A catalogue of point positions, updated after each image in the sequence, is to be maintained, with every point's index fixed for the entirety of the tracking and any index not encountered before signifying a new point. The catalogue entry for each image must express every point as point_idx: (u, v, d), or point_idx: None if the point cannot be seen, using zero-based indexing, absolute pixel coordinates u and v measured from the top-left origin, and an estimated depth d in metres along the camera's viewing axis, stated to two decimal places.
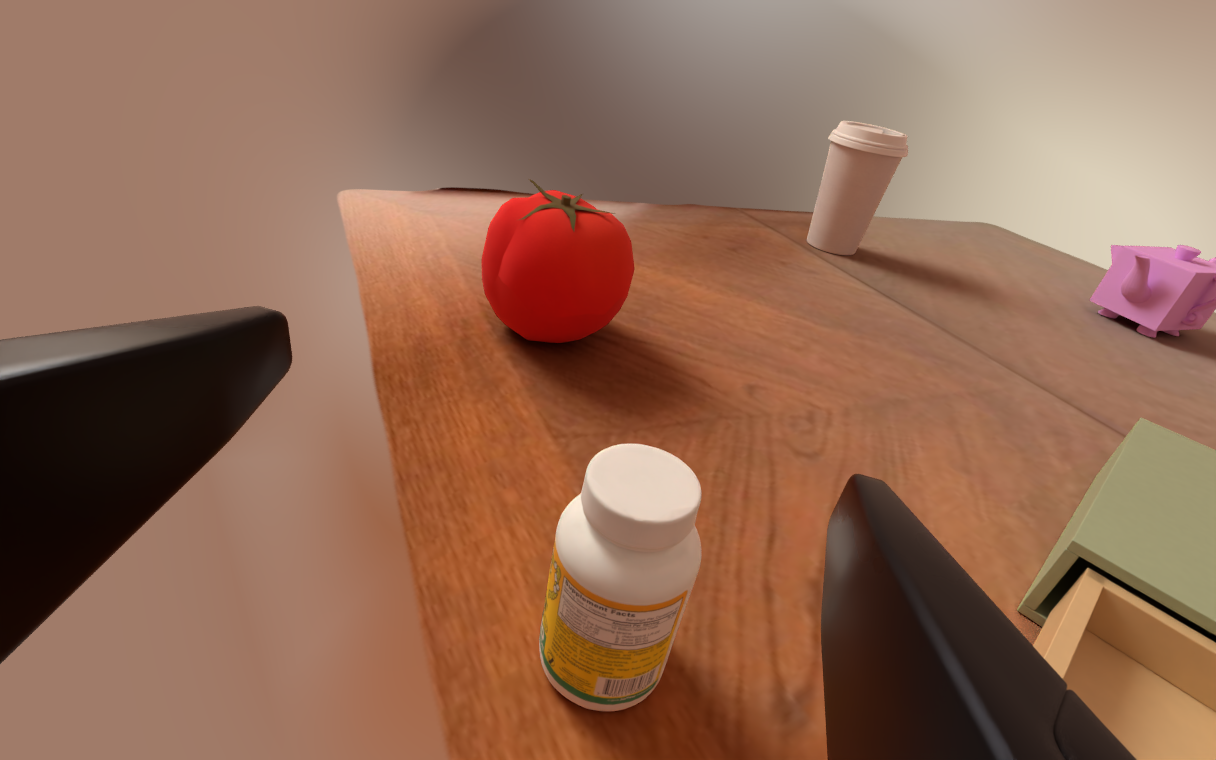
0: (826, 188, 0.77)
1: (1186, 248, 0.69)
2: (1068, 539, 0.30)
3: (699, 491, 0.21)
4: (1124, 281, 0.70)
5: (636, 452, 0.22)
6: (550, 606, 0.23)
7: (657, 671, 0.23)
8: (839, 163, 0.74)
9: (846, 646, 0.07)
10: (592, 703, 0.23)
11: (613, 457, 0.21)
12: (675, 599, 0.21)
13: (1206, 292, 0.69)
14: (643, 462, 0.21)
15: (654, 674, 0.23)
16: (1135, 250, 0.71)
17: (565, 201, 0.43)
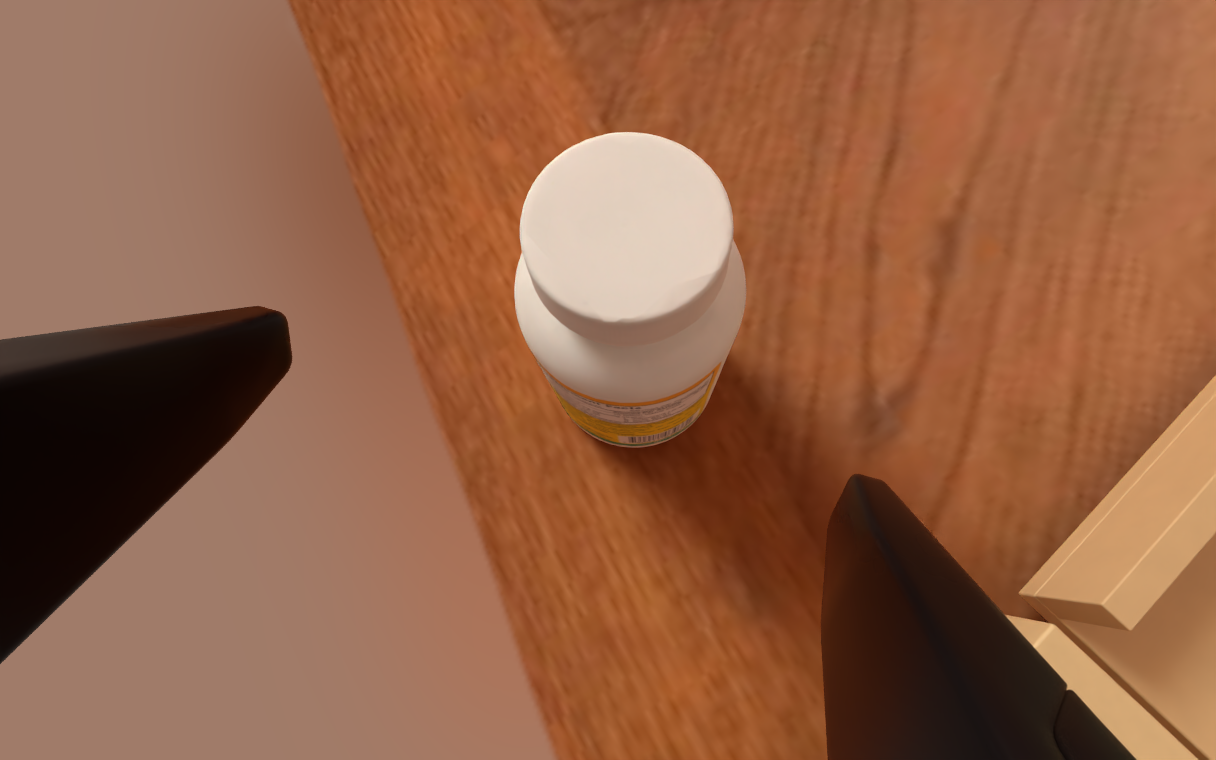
0: None
1: None
2: None
3: (729, 231, 0.11)
4: None
5: (612, 154, 0.12)
6: None
7: (697, 412, 0.18)
8: None
9: (846, 646, 0.07)
10: (621, 445, 0.19)
11: (569, 178, 0.12)
12: (700, 381, 0.14)
13: None
14: (625, 178, 0.11)
15: (694, 416, 0.18)
16: None
17: None
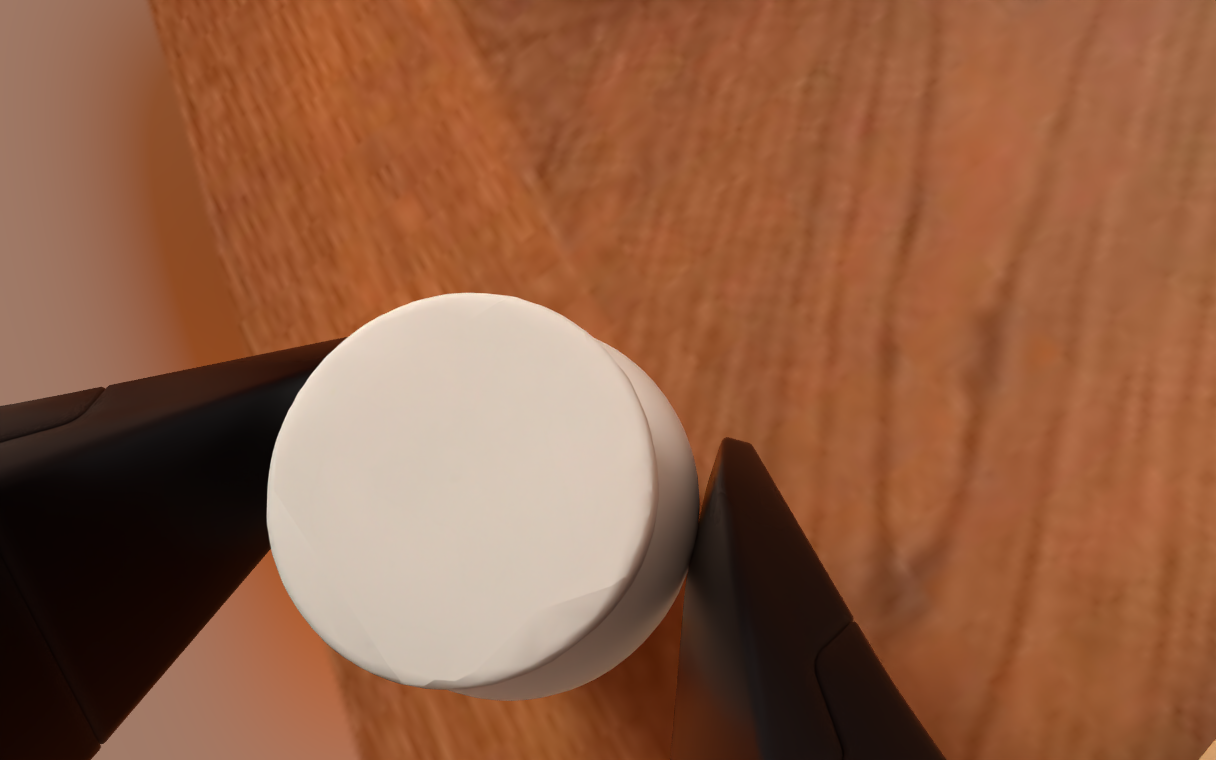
0: None
1: None
2: None
3: (645, 497, 0.06)
4: None
5: (444, 338, 0.06)
6: None
7: None
8: None
9: (694, 598, 0.07)
10: None
11: (363, 381, 0.06)
12: None
13: None
14: (464, 384, 0.06)
15: None
16: None
17: None
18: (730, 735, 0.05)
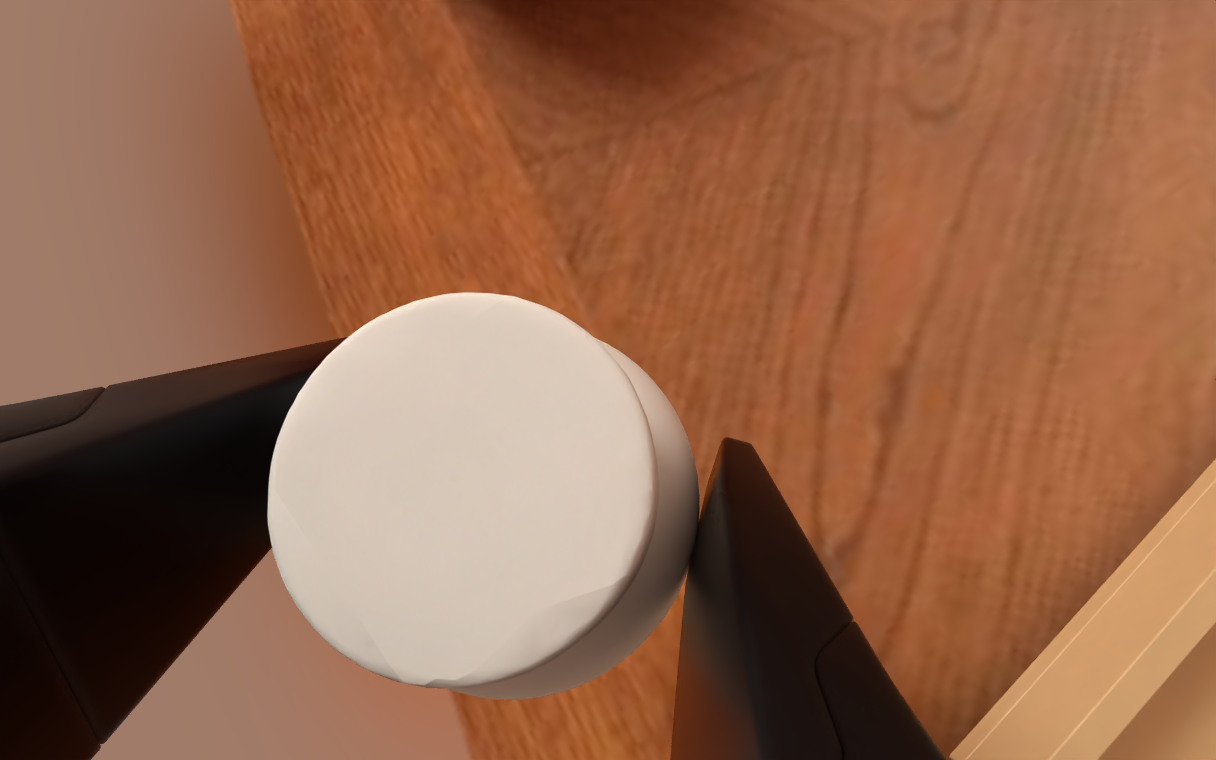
0: None
1: None
2: None
3: (645, 497, 0.06)
4: None
5: (444, 337, 0.06)
6: None
7: None
8: None
9: (695, 598, 0.07)
10: None
11: (363, 381, 0.06)
12: None
13: None
14: (464, 384, 0.06)
15: None
16: None
17: None
18: (731, 735, 0.05)
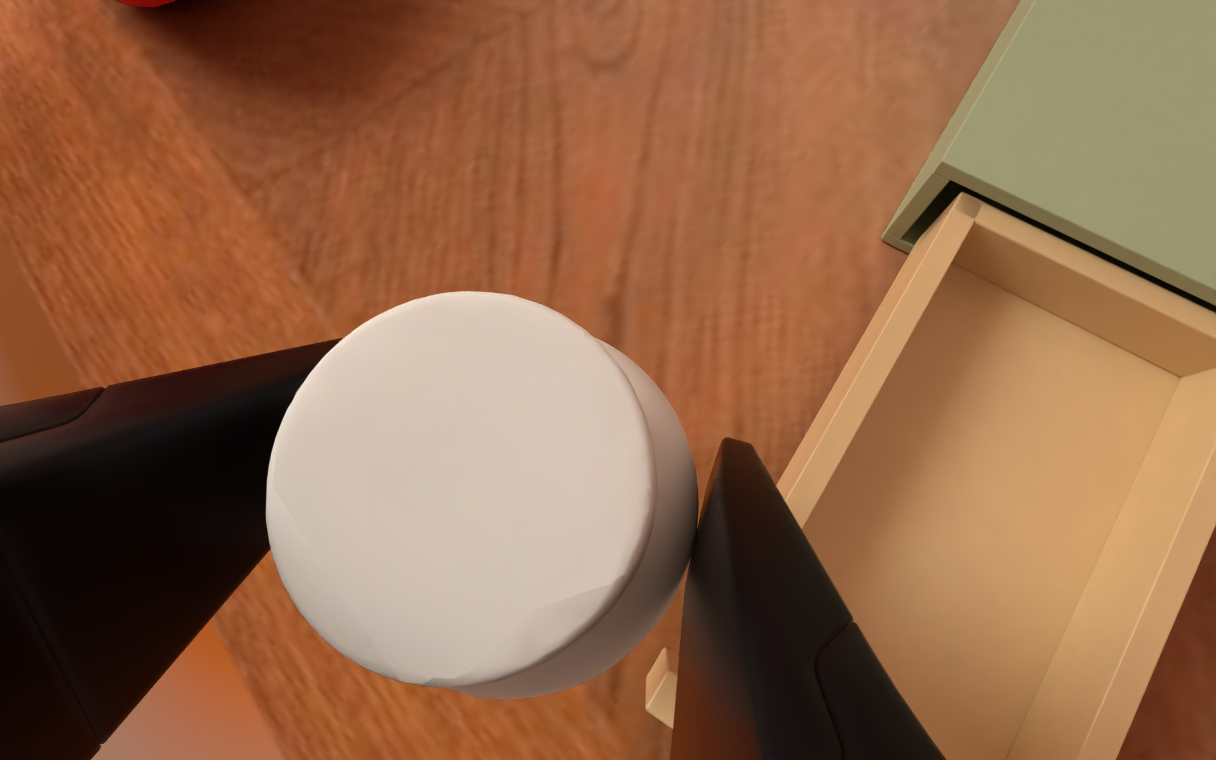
0: None
1: None
2: (951, 135, 0.20)
3: (644, 495, 0.06)
4: None
5: (443, 336, 0.06)
6: None
7: None
8: None
9: (694, 598, 0.07)
10: None
11: (362, 379, 0.06)
12: None
13: None
14: (463, 382, 0.06)
15: None
16: None
17: None
18: (731, 735, 0.05)
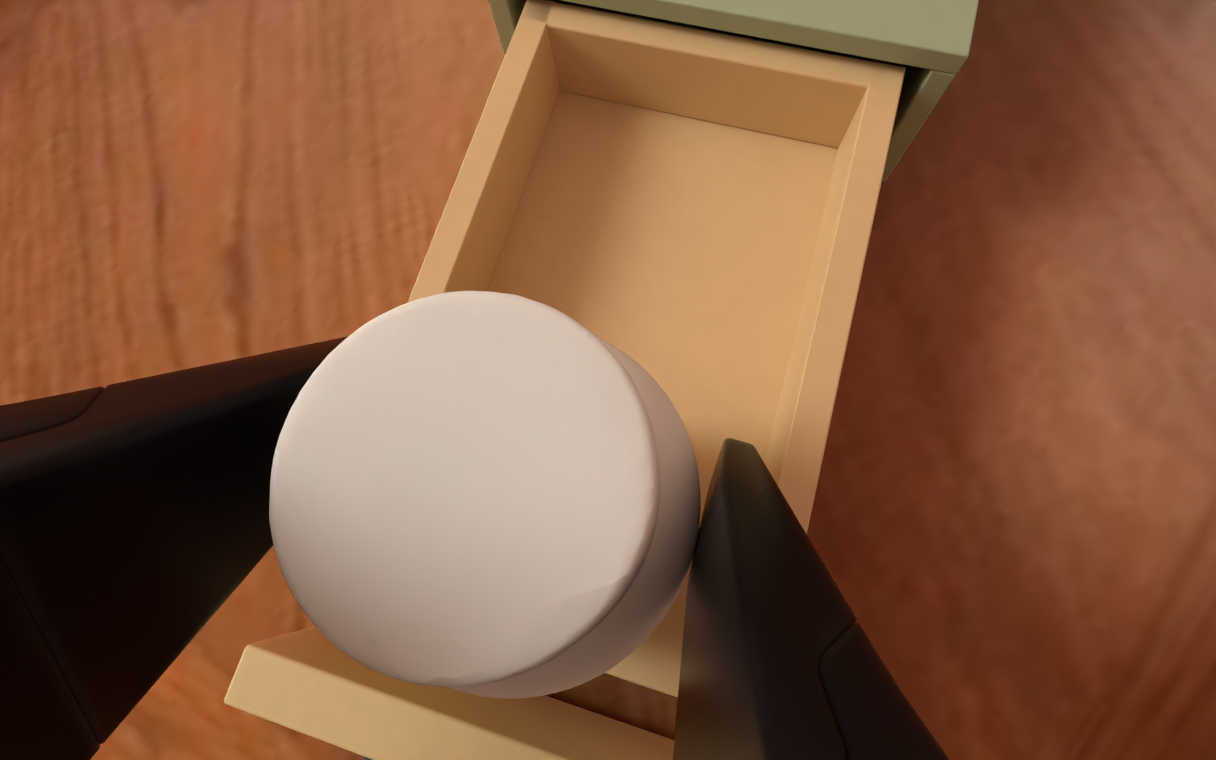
0: None
1: None
2: None
3: (647, 495, 0.06)
4: None
5: (446, 335, 0.06)
6: None
7: None
8: None
9: (697, 599, 0.07)
10: None
11: (365, 379, 0.06)
12: None
13: None
14: (466, 382, 0.06)
15: None
16: None
17: None
18: (734, 736, 0.05)
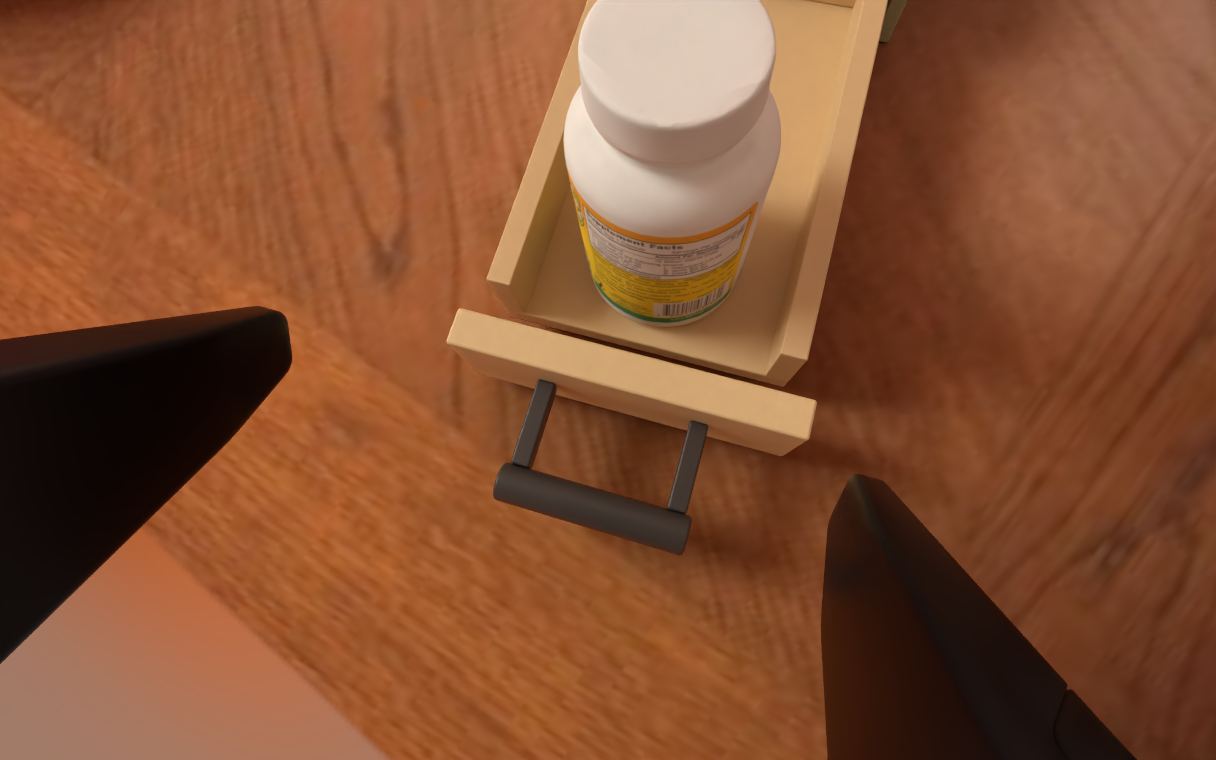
0: None
1: None
2: None
3: (772, 47, 0.12)
4: None
5: None
6: (582, 232, 0.18)
7: (728, 284, 0.19)
8: None
9: (846, 646, 0.07)
10: (654, 322, 0.20)
11: (622, 5, 0.12)
12: (738, 218, 0.15)
13: None
14: (675, 4, 0.12)
15: (724, 288, 0.19)
16: None
17: None
18: None
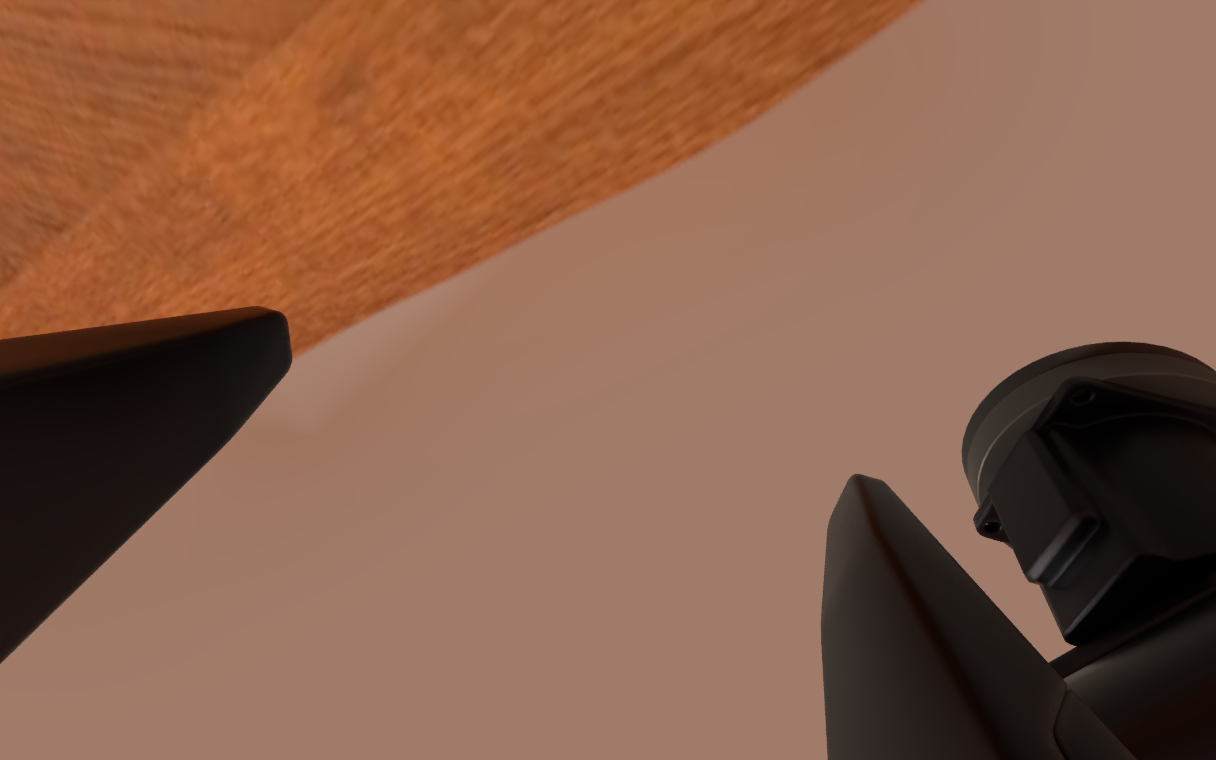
0: None
1: None
2: None
3: None
4: None
5: None
6: None
7: None
8: None
9: (846, 646, 0.07)
10: None
11: None
12: None
13: None
14: None
15: None
16: None
17: None
18: None
